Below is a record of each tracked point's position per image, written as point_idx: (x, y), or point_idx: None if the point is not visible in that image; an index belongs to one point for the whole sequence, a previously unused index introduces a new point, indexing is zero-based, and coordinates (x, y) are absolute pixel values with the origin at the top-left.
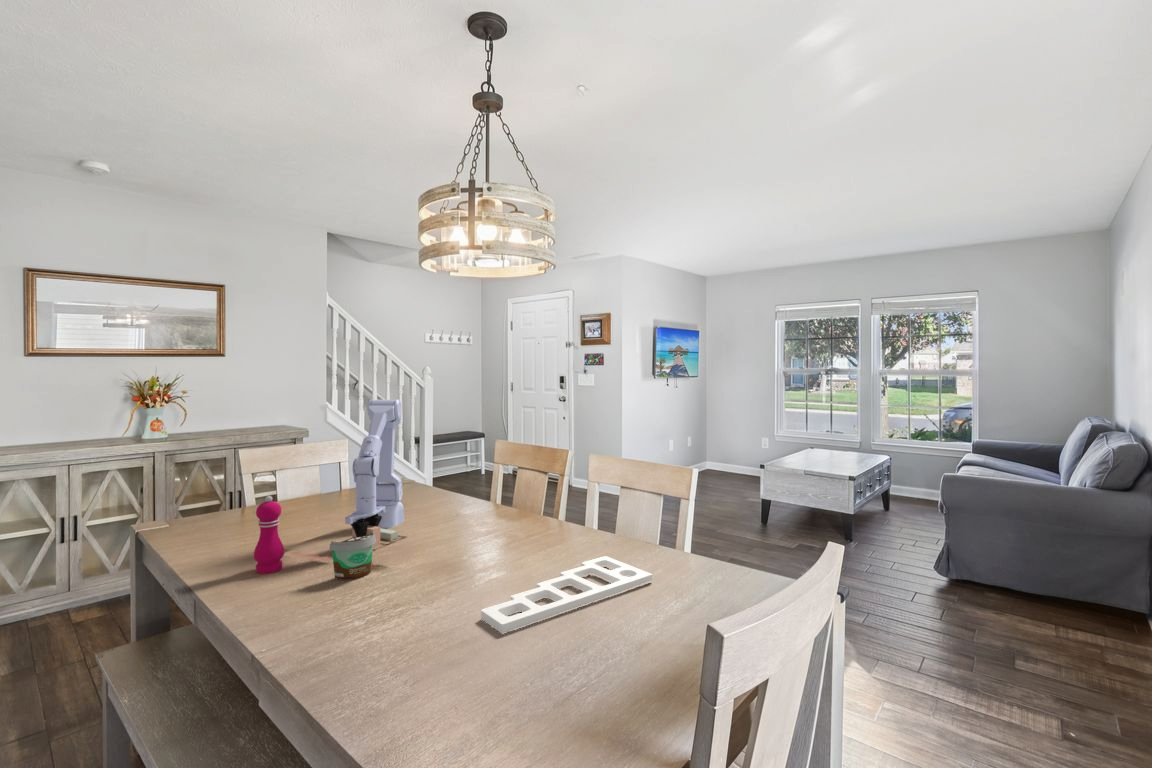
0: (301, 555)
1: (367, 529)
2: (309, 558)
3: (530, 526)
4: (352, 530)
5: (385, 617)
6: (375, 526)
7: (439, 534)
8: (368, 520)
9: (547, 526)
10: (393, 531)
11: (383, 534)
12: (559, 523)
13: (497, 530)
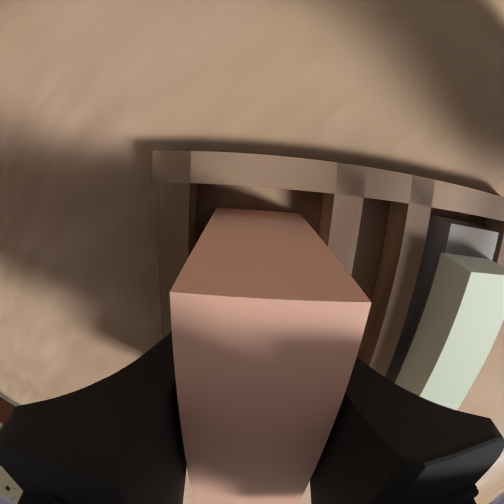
0: (34, 9)
1: (191, 482)
2: (4, 91)
3: (498, 484)
4: (186, 272)
5: None
6: (294, 498)
7: (499, 415)
8: (346, 493)
9: (490, 496)
10: (449, 403)
11: (425, 362)
12: (500, 493)
13: (492, 474)
